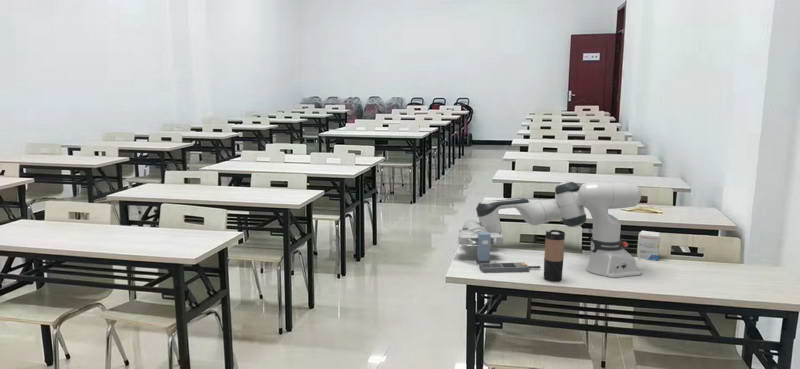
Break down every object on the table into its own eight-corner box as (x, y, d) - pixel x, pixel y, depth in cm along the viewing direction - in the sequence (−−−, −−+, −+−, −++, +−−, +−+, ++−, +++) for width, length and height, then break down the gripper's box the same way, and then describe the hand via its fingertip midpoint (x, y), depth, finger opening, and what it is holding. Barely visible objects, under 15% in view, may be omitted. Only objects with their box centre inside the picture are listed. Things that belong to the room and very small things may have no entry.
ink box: (658, 256, 278) (660, 232, 275) (657, 261, 270) (660, 236, 268) (638, 253, 281) (640, 230, 279) (637, 258, 274) (639, 234, 271)
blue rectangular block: (486, 262, 265) (488, 231, 263) (489, 265, 260) (490, 234, 258) (476, 262, 265) (478, 231, 262) (479, 265, 260) (480, 234, 258)
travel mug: (562, 282, 239) (565, 235, 236) (543, 281, 241) (546, 233, 237) (561, 276, 246) (564, 230, 243) (542, 275, 248) (545, 229, 244)
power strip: (537, 266, 260) (537, 261, 259) (542, 271, 253) (542, 266, 252) (479, 267, 257) (479, 262, 256) (483, 272, 250) (483, 267, 250)
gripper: (498, 241, 275) (506, 250, 262) (455, 242, 273) (461, 250, 260) (499, 228, 274) (507, 236, 261) (455, 229, 272) (462, 237, 259)
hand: (484, 243), depth 260 cm, fingers open, 8 cm apart
